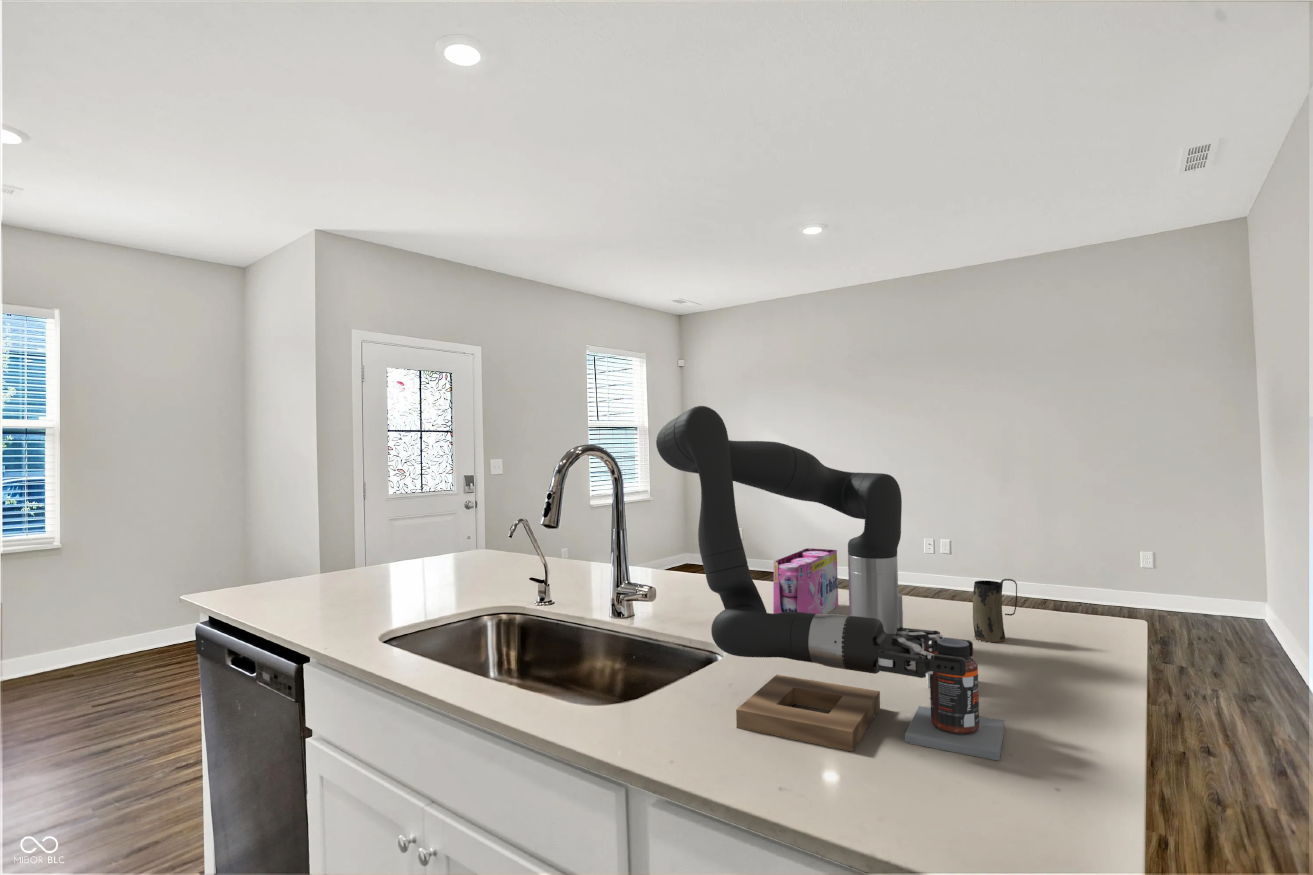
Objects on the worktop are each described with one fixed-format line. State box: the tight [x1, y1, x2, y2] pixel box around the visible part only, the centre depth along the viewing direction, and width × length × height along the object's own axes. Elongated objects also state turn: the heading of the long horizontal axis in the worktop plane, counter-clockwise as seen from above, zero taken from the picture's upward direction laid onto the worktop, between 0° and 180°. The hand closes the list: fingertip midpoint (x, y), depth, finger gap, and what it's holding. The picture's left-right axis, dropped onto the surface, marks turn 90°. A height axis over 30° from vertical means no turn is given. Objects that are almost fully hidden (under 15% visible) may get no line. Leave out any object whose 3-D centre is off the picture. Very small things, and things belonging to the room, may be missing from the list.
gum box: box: [772, 547, 839, 614], centre depth 155 cm, size 24×8×14 cm, turn 148°
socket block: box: [735, 674, 881, 752], centre depth 97 cm, size 16×16×2 cm
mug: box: [972, 578, 1018, 644], centre depth 133 cm, size 8×6×12 cm
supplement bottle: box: [929, 637, 980, 734], centre depth 90 cm, size 6×6×11 cm
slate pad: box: [904, 705, 1006, 762], centre depth 90 cm, size 11×11×1 cm
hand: (969, 657), depth 89 cm, fingers open, 8 cm apart
